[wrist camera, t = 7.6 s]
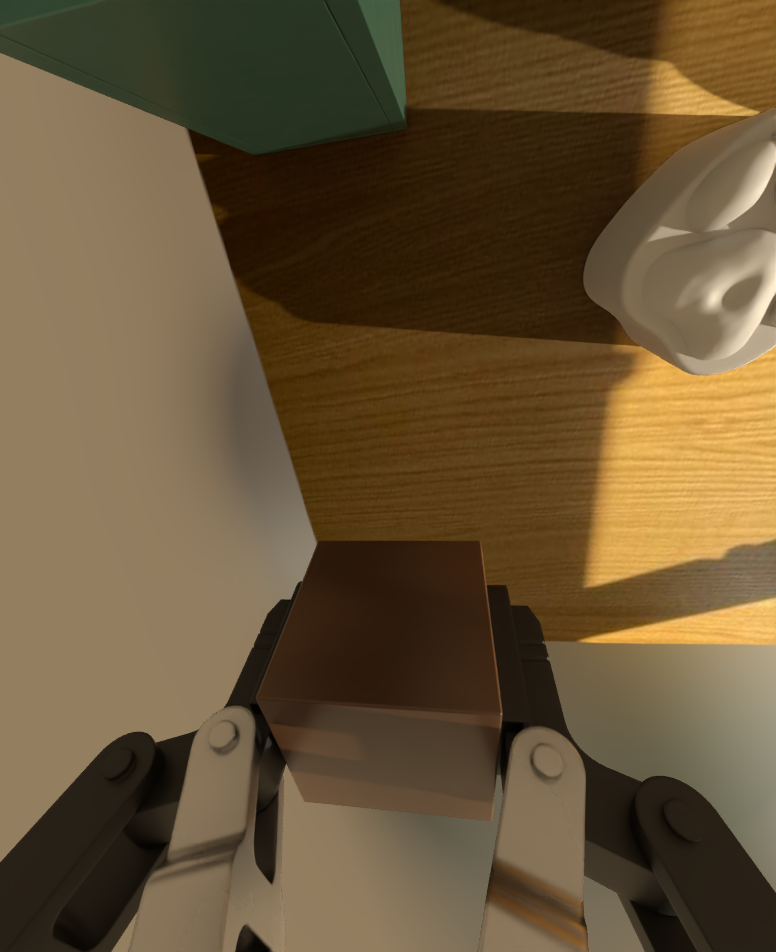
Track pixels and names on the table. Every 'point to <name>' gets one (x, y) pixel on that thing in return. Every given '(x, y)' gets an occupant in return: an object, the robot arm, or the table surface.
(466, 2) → the table surface
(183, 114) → the green box
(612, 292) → the lumpy-topped squat cylinder
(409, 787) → the block
